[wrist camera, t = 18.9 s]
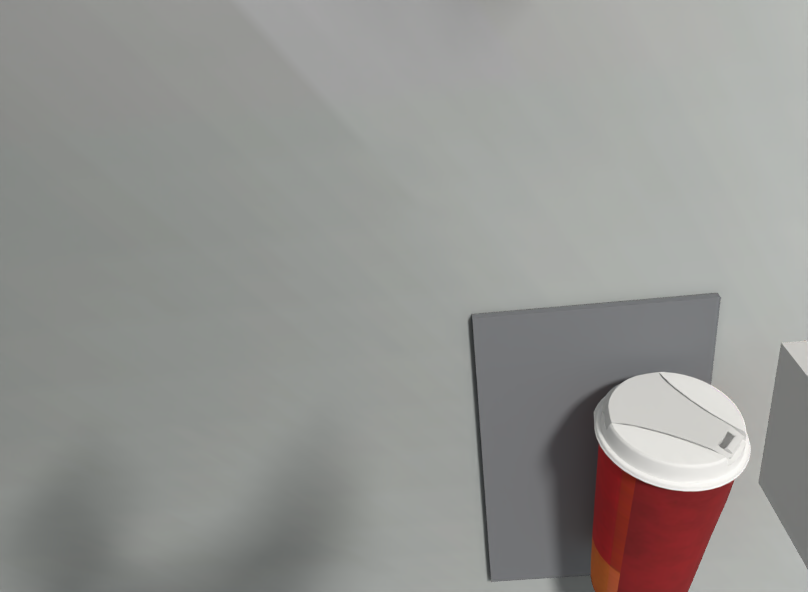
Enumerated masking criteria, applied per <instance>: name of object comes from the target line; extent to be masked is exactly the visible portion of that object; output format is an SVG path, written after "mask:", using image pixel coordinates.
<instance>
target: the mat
mask: <svg viewBox="0 0 808 592" xmlns="http://www.w3.org/2000/svg"><path fill="white" fill-rule="evenodd" d="M720 299H721V297H720V296H719V294H718V293H711V294H699V295H688V296H676V297H665V298H653V299H642V300H630V301H619V302H607V303H595V304H584V305H572V306H561V307H549V308H538V309H526V310H515V311H503V312H492V313H480V314H472V324H473V338H474V352H475V366H476V380H477V393H478V407H479V421H480V435H481V449H482V463H483V477H484V491H485V505H486V519H487V533H488V547H489V561H490V575H491V582H495V581H510V580H525V579H540V578H555V577H570V576H585V575H591V548H592V531H593V517H594V502H595V488H596V474H597V461H598V447H599V442H598V440H597V438H596V434H595V430H594V410H595V408H596V406H597V405H598V403H599V402H600V401H601V399H602V398H604V397H605V396H606V395H607V393H608V392H609V391H610V390H611V389H612V388H613V387H615V386H616V385H618V384H621V383H622V382H624V381H626V380H627V379H629V378H632V377H635V376H638V375H643V374H648V373H655V372H670V373H677V374H682V375H686V376H690V377H693V378H696V379H699V380H701V381H704V382H706V383H708V384H710V385H711V379H712V370H713V361H714V352H715V344H716V335H717V326H718V317H719V308H720Z"/></svg>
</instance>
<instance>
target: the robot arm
mask: <svg viewBox="0 0 808 592" xmlns="http://www.w3.org/2000/svg"><path fill="white" fill-rule="evenodd" d="M759 484H760V486H761V488H762V489H763V491H764V493H765V495H766V497H767V498H768V500H769V502H770V504H771V505H772V507H773V509H774V511H775V512H776V514H777V516H778V518H779V519H780V521H781V523H782V525H783V526H784V528H785V530H786V532H787V533H788V535H789V537H790V539H791V541H792V542H793V544H794V546H795V548H796V549H797V551H798V553H799V555H800V556H801V558H802V560H803V562H804V563H805V565H806V567H807V569H808V341H798V342H785V343H781V348H780V354H779V360H778V366H777V372H776V378H775V384H774V391H773V397H772V403H771V409H770V415H769V421H768V427H767V433H766V439H765V446H764V452H763V458H762V464H761V470H760V476H759Z"/></svg>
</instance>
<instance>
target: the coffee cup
mask: <svg viewBox="0 0 808 592" xmlns="http://www.w3.org/2000/svg"><path fill="white" fill-rule="evenodd" d="M594 430H595V434H596V438H597V440H598V442H599V447H598V461H597V474H596V488H595V502H594V517H593V531H592V548H591V580H592V585H593V588H594V590H595V592H688V590H689V588H690V585H691V583H692V581H693V578H694V576H695V574H696V571H697V569H698V566H699V564H700V562H701V559H702V557H703V554H704V552H705V549H706V547H707V544H708V542H709V540H710V537H711V535H712V532H713V530H714V528H715V526H716V523H717V521H718V519H719V517H720V514H721V512H722V510H723V508H724V505H725V503H726V501H727V498H728V496H729V493H730V490H731V487H732V485H733V482H734V479H736V478H737V477H738V476H739V475H740V474H741V473H742V472H743V471H744V469H745V467H746V466H747V464H748V461H749V457H750V442H749V438H748V435H747V432H746V426H745V422H744V419H743V417H742V415H741V413H740V411H739V409H738V408H737V407H736V405H735V404H734V403H733V402H732V401H731V400H730V398H729V397H727V396H726V395H725V394H724V393H722V392H721V391H720V390H718V389H717V388H715V387H713V386H712V385H710V384H708V383H706V382H704V381H701V380H699V379H696V378H693V377H690V376H686V375H682V374H677V373H670V372H655V373H648V374H643V375H638V376H635V377H632V378H629V379H627V380H626V381H624V382H622V383H621V384H618V385H616V386H615V387H613V388H612V389H611V390H610V391H609V392H608V393H607V395H606V396H605V397H604V398H602V399H601V401H600V402H599V403H598V405H597V406H596V408H595V410H594Z"/></svg>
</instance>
